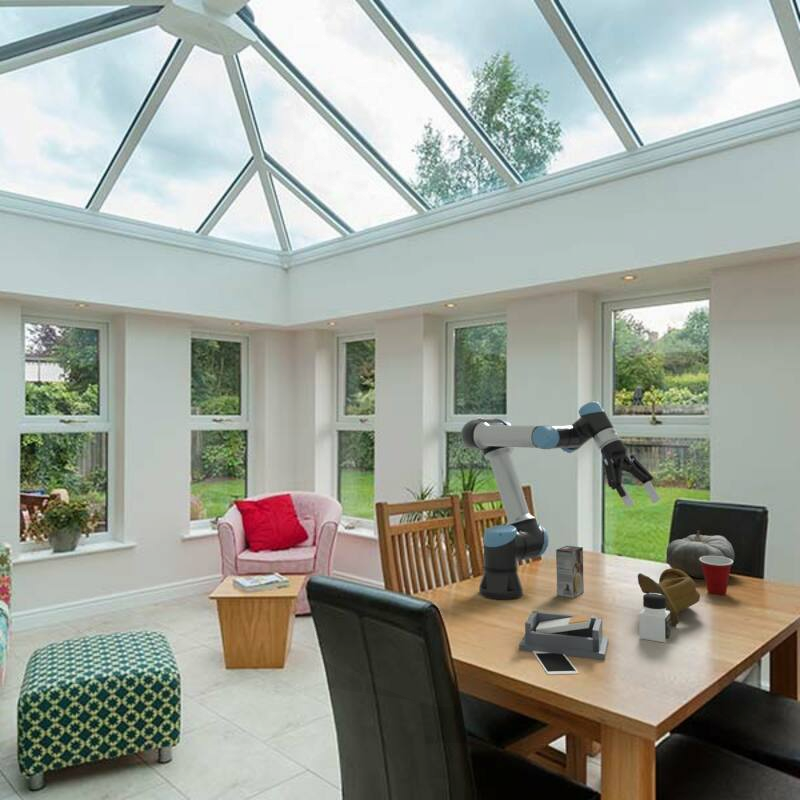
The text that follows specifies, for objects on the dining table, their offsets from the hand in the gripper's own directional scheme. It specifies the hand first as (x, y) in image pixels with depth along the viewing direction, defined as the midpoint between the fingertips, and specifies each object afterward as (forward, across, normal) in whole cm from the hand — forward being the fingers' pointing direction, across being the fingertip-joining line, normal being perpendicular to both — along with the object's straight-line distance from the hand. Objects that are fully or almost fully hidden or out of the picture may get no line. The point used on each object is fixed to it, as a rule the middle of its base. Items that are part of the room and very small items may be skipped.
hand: (644, 503), depth 206 cm
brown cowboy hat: (+31, +8, +18) cm, 37 cm away
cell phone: (+33, -51, +13) cm, 62 cm away
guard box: (+29, -40, +18) cm, 53 cm away
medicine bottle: (+36, -14, +10) cm, 40 cm away
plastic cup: (+29, +45, +22) cm, 58 cm away
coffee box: (+12, +4, +47) cm, 49 cm away
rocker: (+25, -40, +16) cm, 50 cm away
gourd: (+19, +66, +38) cm, 79 cm away
